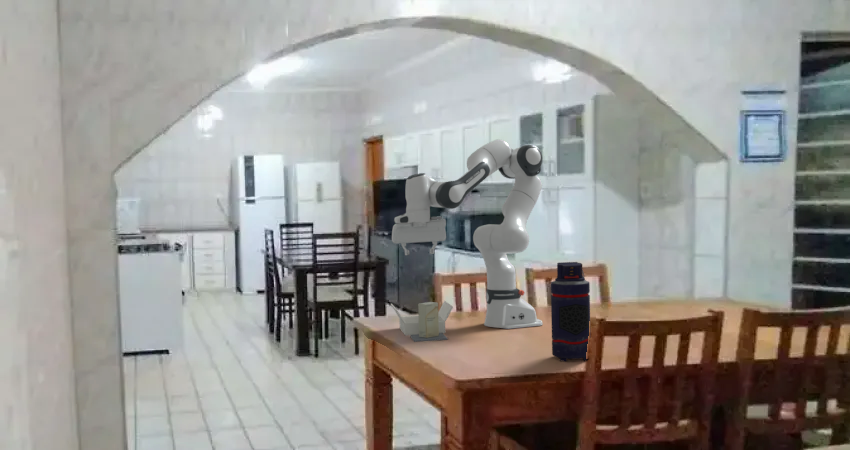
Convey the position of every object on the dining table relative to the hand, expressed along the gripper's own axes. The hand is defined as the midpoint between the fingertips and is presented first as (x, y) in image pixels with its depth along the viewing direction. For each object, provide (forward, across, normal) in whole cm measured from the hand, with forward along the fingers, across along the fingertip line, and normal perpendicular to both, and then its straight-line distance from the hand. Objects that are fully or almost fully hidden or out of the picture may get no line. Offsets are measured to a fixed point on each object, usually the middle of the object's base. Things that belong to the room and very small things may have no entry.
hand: (419, 254), depth 299 cm
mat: (+29, 0, +11) cm, 31 cm away
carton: (+30, 0, -4) cm, 30 cm away
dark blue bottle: (+30, -37, +56) cm, 73 cm away
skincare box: (+29, 0, +11) cm, 31 cm away
